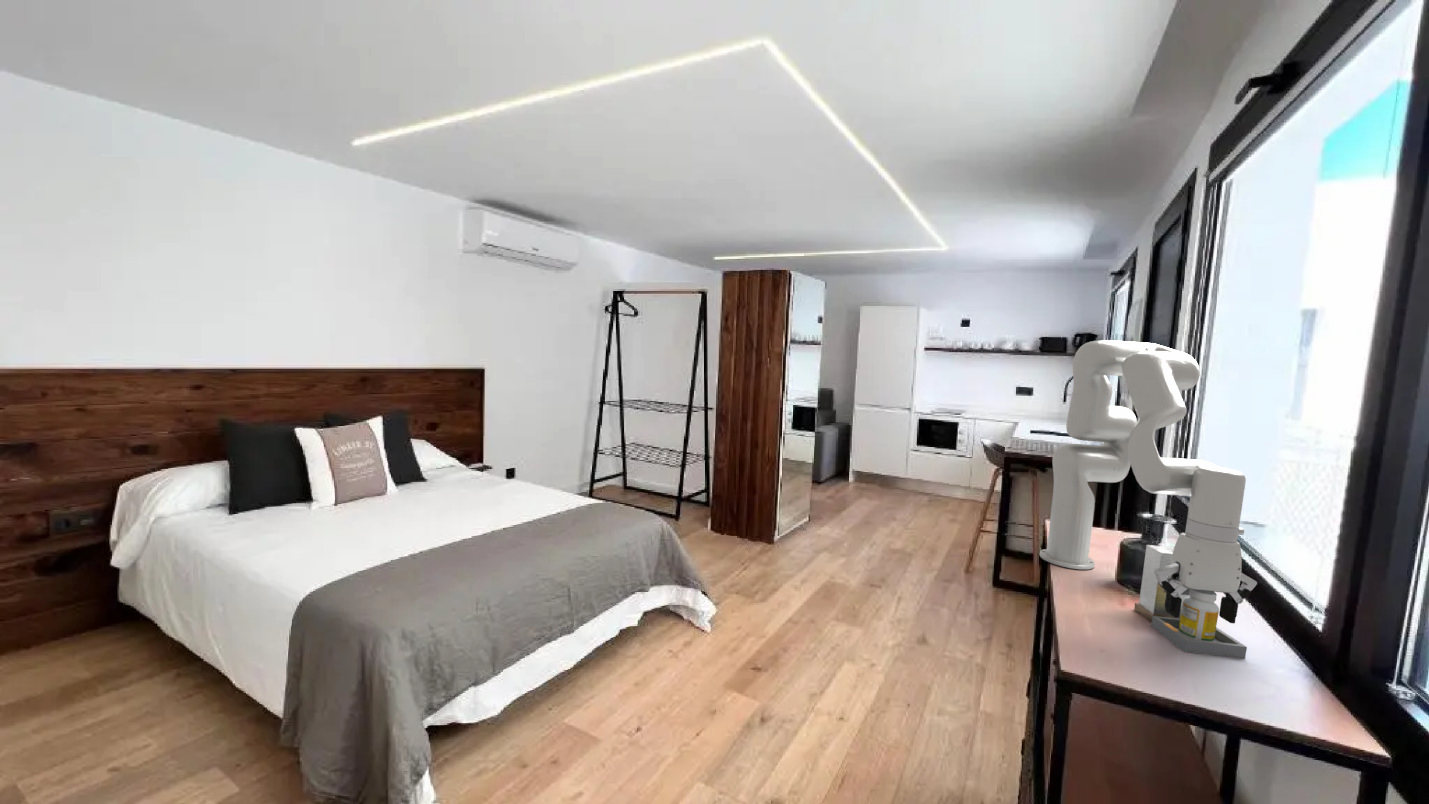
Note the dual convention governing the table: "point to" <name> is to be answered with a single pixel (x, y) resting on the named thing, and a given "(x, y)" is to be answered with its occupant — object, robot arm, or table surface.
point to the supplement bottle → (1199, 615)
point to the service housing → (1155, 584)
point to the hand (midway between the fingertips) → (1199, 617)
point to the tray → (1220, 646)
